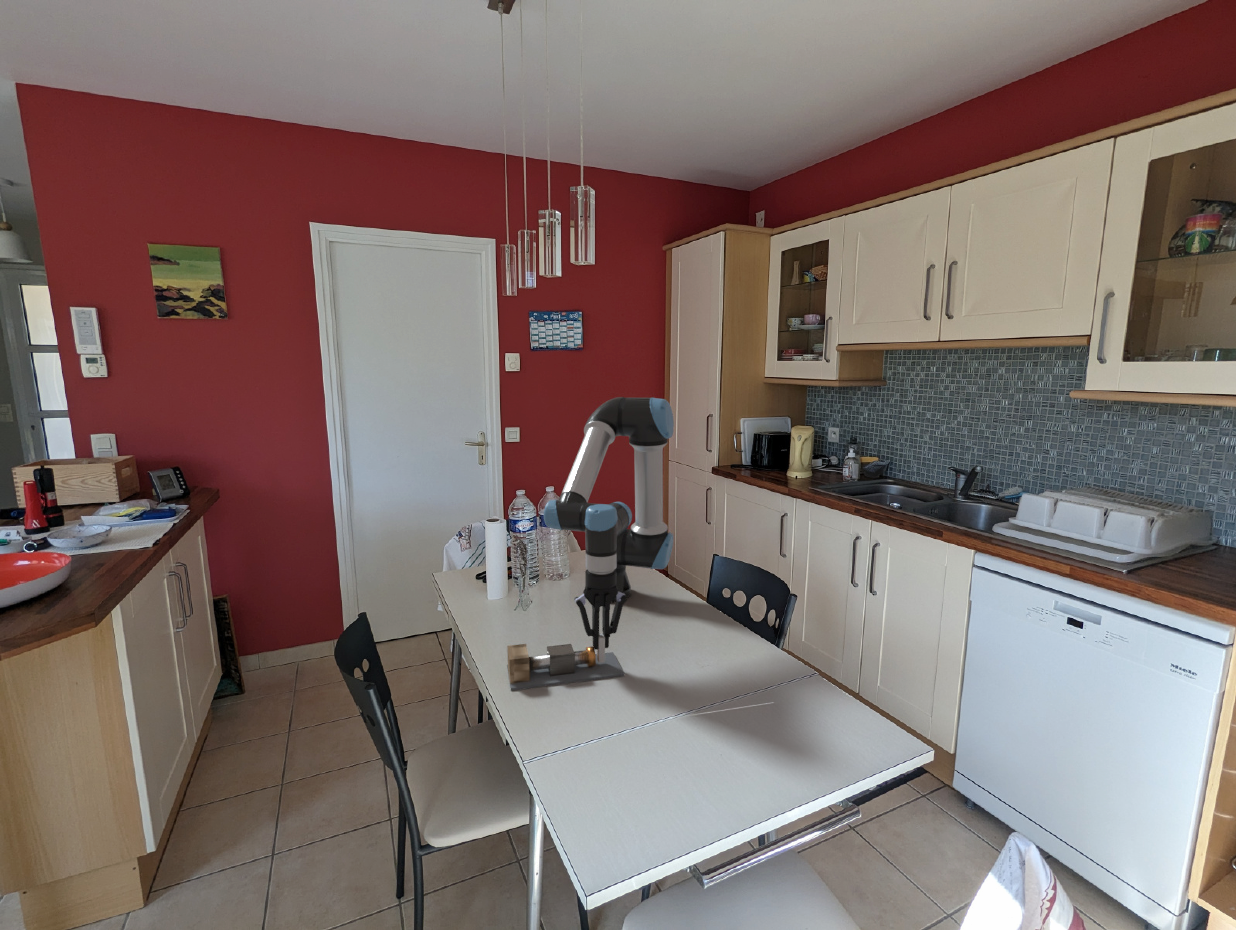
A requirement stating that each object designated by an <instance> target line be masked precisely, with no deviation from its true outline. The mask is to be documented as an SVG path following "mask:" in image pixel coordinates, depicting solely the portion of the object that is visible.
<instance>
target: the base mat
mask: <svg viewBox="0 0 1236 930" xmlns="http://www.w3.org/2000/svg"><path fill="white" fill-rule="evenodd" d="M595 656H596V664H595V666H590V667H588V666H587V664H581V665H575V673H574V674H567V675H559V676H551V677H550V674H549V670H548V669H541V670H533V671H529V679H530V681H527V682H519V683H511V684H510V683H509V688H510V691H518V690H519V691H520V690H526V689H533V688H540V687H541V688H542V687H548V686H556V685H557V686H559V685H563V684H564V685H565V684H571V683H579V682H586V681H595V680H603V679H610V678H619V677H625V672H624V671H623V668H622V667H621V665H620V663H619V661H618V658H617V657H616V655H615V653H614V652H613V651H611V652H605V662H604V663H599V662H598V660H597V653H595ZM506 667H507V669H508V664H507V665H506ZM507 673H508V672H507ZM508 676H509V673H508ZM508 680H509V679H508ZM508 682H510V680H509V681H508Z"/></svg>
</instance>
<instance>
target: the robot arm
mask: <svg viewBox="0 0 1236 930" xmlns="http://www.w3.org/2000/svg"><path fill="white" fill-rule="evenodd" d="M673 415H674V413H673V410H672V406H671V404H670V402H669V401H668V400H667V399H664V398H657V397H624V396H618V397H617V396H616V397H614V398H611V399H609V400H607V401H605V402H603V403H602V404H601V405H599V406H598V407H597V408H596V409H595V410H594V411H593V412H592V413H591V415H590V416H589V417H588V418H587V421H586V422H585V425H584V427H583V433H584V436H583V438H582V442H581V444H580V447H579V449H578V451H577V453H576V454H577V455H576V456H575V459H574V461H573V464H572V467H571V469H570V472H569V474H568V477H567V478H566V480H565V483H564V485H563V486H564V487H563V489H562V491H561V494H560V495H559V498H558V499H550V500H548V501H547V503H546V504H545V506H544V509H543V521H544V523H545V525H546V527H548V528H549V529H553V530H560V531H573V532H582V533H585V534H584V535H585V536H584V537H585V539H584V540H585V550H584V551H585V561H584V562H585V569H586V570H585V571H584V572H585V573H584V574H585V576H584V577H585V578H584V579H585V581H584V582H585V585H584V590H583V592H582V594H581V595H580V596H576V597H574V602H575V604H576V605H577V607H578V609H579V613H580V616H581V619H582V623H583V624H582V625H583V627H584V628H583V629H584V631H585V633H586V635H587V636H588V637H592V646H593V647H594V650H596V654H597V660H598V662H599V663H604V662H605V653H606V649H608V648H609V647H610V637H611V635H612V634H616V633H617V631H618V627H619V622H620V619H621V615H622V610H623V607H624V604H625V603H626V602H627V600H628V598H629V597H630V596H631V593H632V586H631V583H630V580H629V577H628V574H627V571H626V570H627V569H626V568H627V567H635V568H642V569H650V570H653V569H654V570H655V569H656V570H664V569H666V568H667V566H668V564H669V563H670V562H669V561H670V559H671V555H672V550H673V545H674V534H673V533H671V532H668V531H669V528H668V524H666V523H665V522H664V519H663V517H664V515H663V514H664V513H663V512H664V509H663V508H664V507H663V505H664V503H663V502H664V501H663V499H664V498H663V497H664V490H663V489H664V484H663V482H664V481H663V480H664V479H663V474H664V473H663V471H664V469H663V465H664V464H663V461H664V457H663V455H664V454H663V453H664V451H663V450H664V449H663V448H665V447H666V445H668V442H669V441H668V439H671V438H672V437H673V436H674V427H675V422H674V416H673ZM619 436H620V437H628V443H629V445H630V446H631V447H632V448H633V450H634V452H633V453H634V454H633V457H634V461H633V462H634V505H635V506H634V509H635V512H634V513H635V514H634V516H635V521H634V523H632V519H633V513H632V510H631V509H630V507H629V506H628V505H627V504H625V503H624V502H621V501H614V502H611V503H609V504H605V503H594V502H593V503H591V502H589V499H590V496H591V494H592V491H593V488H594V486H595V483H596V480H597V478H598V475H599V472H600V470H601V468H602V464H603V462H604V458H605V457H606V454H607V451H608V449H609V445H611V444H613V443H614V441H615V439H616V437H619ZM631 523H632V524H631ZM630 525H631V526H630ZM629 526H630V528H629ZM586 600H587V601H588V603H589V604H590V605H591V613H592V614H591V615H592V617H591V618H592V619H591V621H592V622H591V624H590V620H589V617H588V614H587V612H588V611H587V610H586V607H585V605H586V603H587V602H586ZM613 602H614V607H613V610H612V611H613V612H612V616H611V615H610V612H611V611H610V610H611V604H612V603H613ZM600 608H601V609H602V611H601V613H602V617H601V620H602V624H601V625H602V629H601V630H602V631H601V632H600V610H601V609H600ZM610 617H611V618H610ZM591 627H592V628H591Z"/></svg>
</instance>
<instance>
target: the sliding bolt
mask: <svg viewBox="0 0 1236 930" xmlns="http://www.w3.org/2000/svg"><path fill="white" fill-rule="evenodd" d="M574 653H575V665H581V664H587V666H588V667H590V666H595V664H596V656H595V654H596V649H594V647H593V645H591V646H586V647H585V650H584V649H583V650H576V651H575V650H574ZM549 668H550V657H549V655H547V654H544V655H543V654H541V655H533V656H529V671H533V670H541V669H549Z"/></svg>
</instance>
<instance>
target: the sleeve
mask: <svg viewBox="0 0 1236 930" xmlns="http://www.w3.org/2000/svg"><path fill="white" fill-rule="evenodd" d="M574 652H575V650H574V648H573V645H572V643H567V644H559V645H556V644H555V645H548V646H546V655H549V657H550V668H549V669H548V670H549V674H550V677H551V676H559V675H567V674H574V673H575V653H574Z"/></svg>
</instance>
